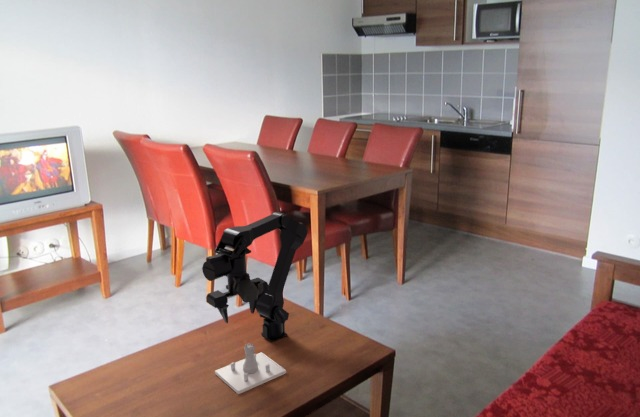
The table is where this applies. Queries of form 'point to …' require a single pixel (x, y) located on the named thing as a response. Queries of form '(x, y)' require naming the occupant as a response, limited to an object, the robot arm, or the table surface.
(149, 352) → the table surface
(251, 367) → the rook chess piece
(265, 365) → the peg board
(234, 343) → the table surface
